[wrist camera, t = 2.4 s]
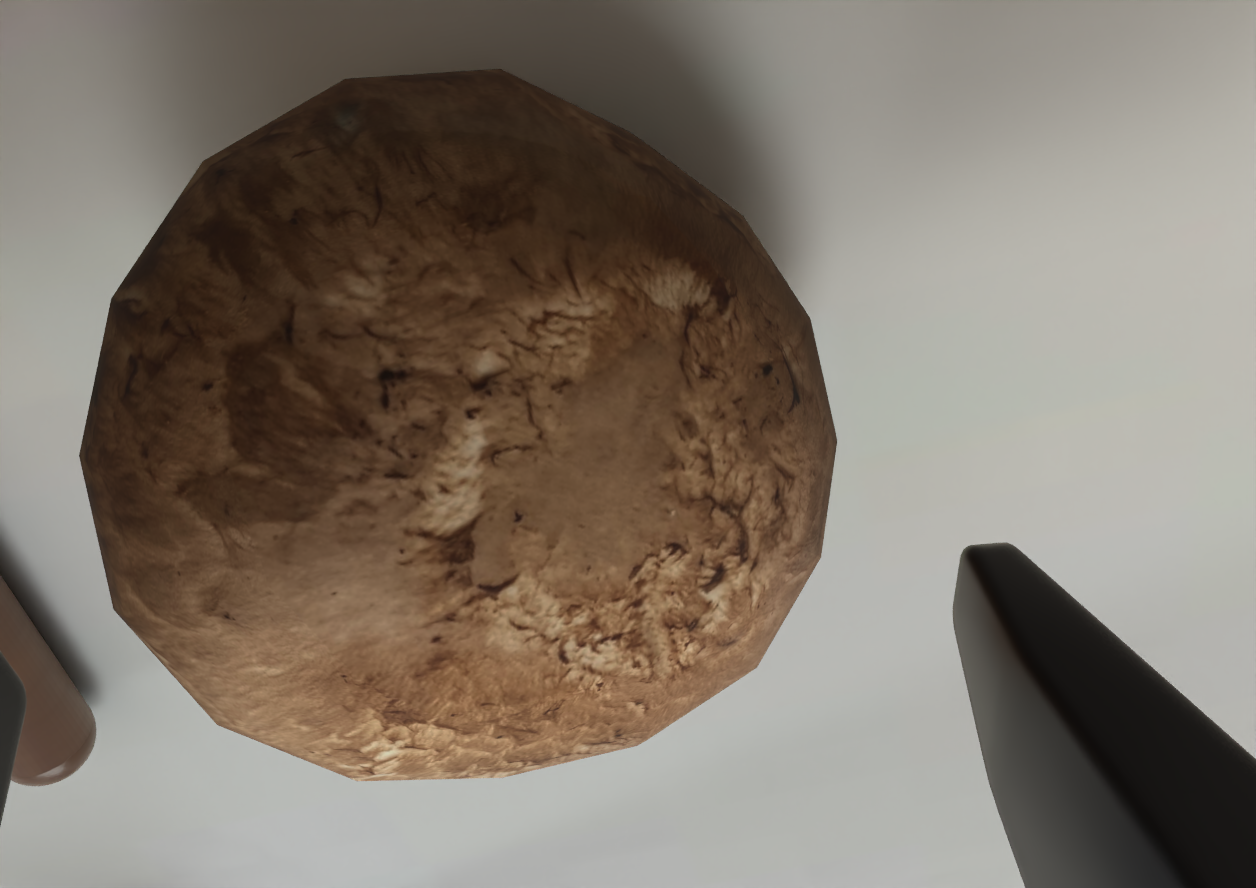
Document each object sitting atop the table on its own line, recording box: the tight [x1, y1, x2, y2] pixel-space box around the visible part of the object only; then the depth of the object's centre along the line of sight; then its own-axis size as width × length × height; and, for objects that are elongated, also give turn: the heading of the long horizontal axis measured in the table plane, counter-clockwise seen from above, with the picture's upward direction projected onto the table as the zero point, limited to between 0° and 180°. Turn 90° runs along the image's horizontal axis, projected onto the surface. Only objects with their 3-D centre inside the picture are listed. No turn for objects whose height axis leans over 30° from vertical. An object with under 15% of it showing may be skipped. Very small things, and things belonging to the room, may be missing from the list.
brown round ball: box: [79, 69, 837, 781], centre depth 12 cm, size 8×8×6 cm
